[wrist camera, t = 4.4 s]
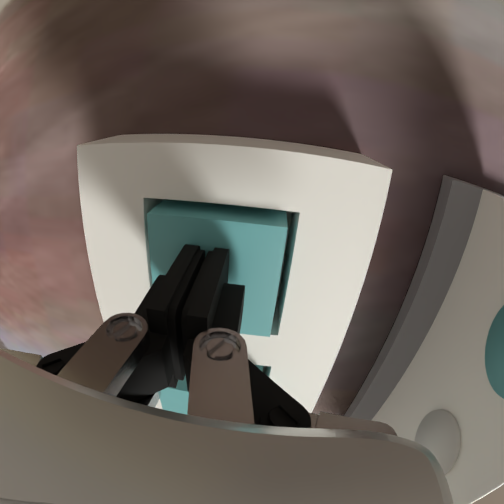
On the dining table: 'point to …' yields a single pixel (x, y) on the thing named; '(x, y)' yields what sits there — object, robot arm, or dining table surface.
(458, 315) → the pattern sign
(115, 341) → the robot arm
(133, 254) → the button board
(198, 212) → the button
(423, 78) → the dining table surface
